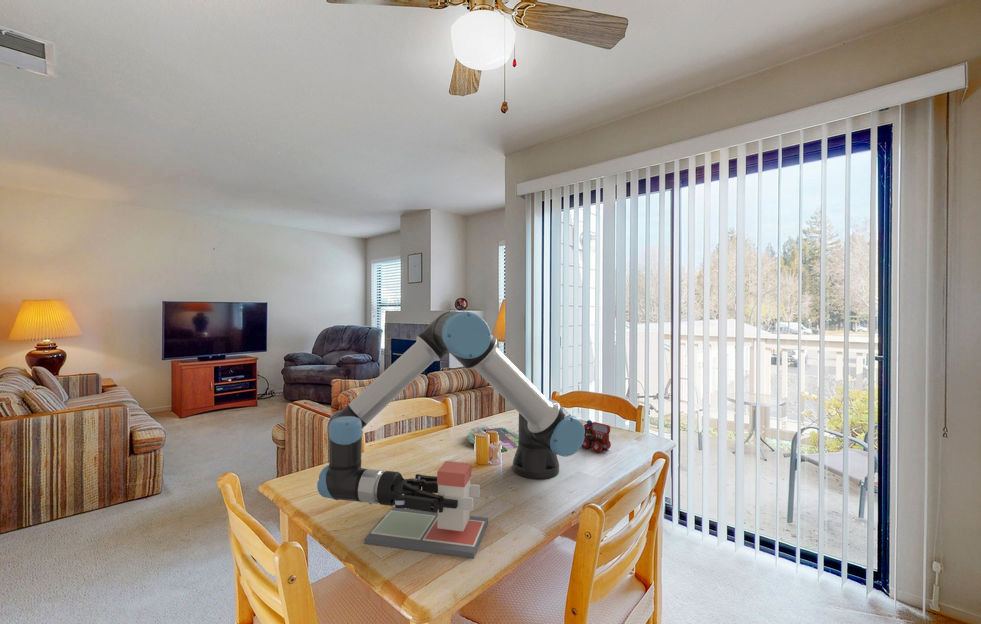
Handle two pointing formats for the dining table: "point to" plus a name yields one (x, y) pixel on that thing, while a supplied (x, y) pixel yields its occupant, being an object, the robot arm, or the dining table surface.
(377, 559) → the dining table surface
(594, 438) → the toy fire truck
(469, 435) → the city model
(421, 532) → the grey flat board
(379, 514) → the dining table surface
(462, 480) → the block
